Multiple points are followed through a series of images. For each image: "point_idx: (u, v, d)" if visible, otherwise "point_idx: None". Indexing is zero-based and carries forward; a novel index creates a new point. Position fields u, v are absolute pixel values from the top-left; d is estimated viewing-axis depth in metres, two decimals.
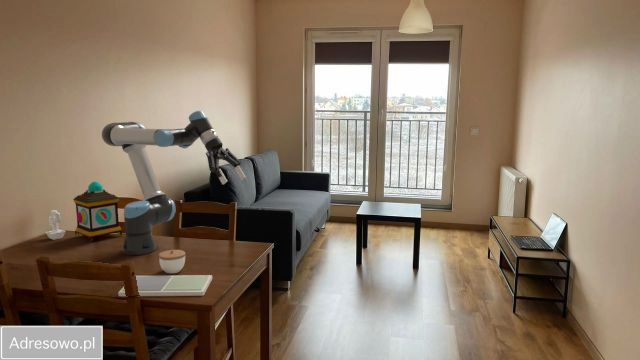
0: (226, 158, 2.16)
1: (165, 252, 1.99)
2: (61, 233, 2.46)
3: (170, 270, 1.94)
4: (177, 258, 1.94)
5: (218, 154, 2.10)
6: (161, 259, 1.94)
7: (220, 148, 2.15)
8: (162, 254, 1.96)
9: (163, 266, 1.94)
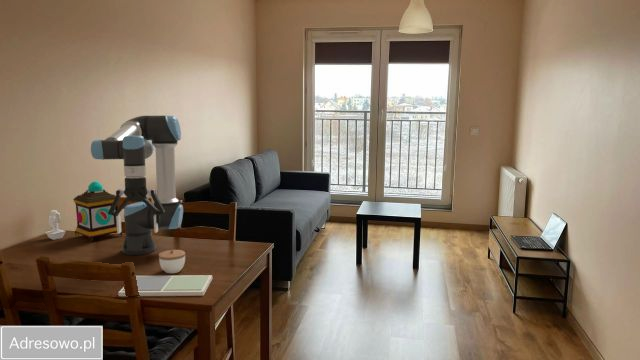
0: None
1: (165, 252, 1.99)
2: (61, 233, 2.46)
3: (170, 270, 1.94)
4: (177, 258, 1.94)
5: (127, 198, 1.75)
6: (161, 259, 1.94)
7: (139, 189, 1.76)
8: (162, 254, 1.96)
9: (163, 266, 1.94)
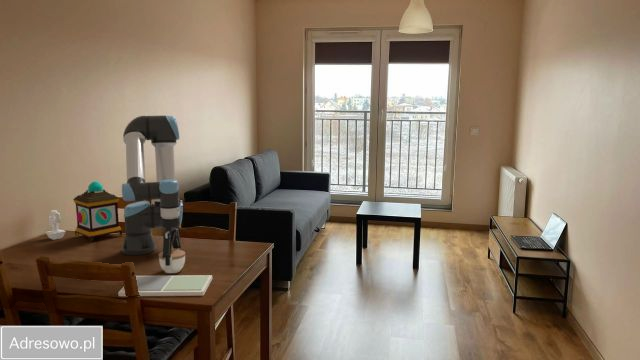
0: None
1: None
2: (61, 233, 2.46)
3: None
4: (177, 258, 1.94)
5: (173, 237, 1.94)
6: (161, 259, 1.94)
7: None
8: (162, 254, 1.96)
9: (163, 266, 1.94)
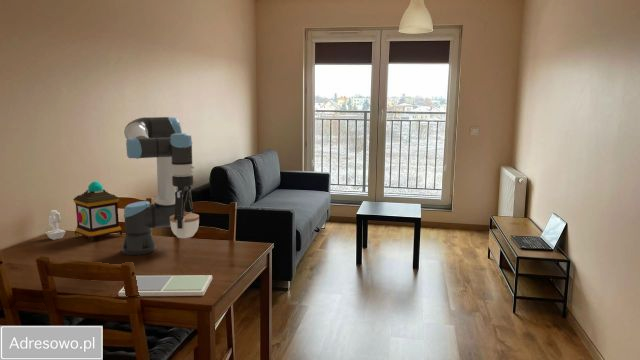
0: None
1: None
2: (61, 233, 2.46)
3: None
4: (190, 221, 1.73)
5: (186, 197, 1.74)
6: (172, 222, 1.73)
7: (187, 186, 1.77)
8: (173, 216, 1.75)
9: (174, 230, 1.73)
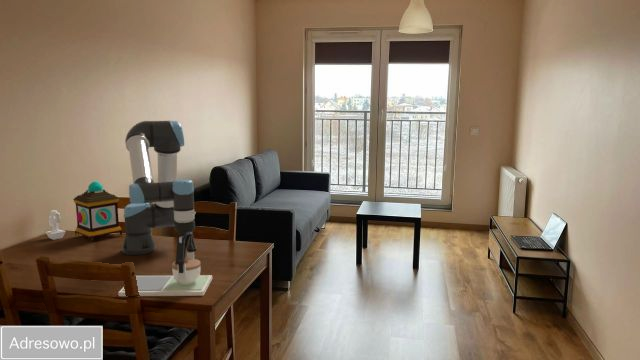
0: None
1: None
2: (61, 233, 2.46)
3: (184, 281, 1.77)
4: (192, 268, 1.76)
5: (188, 242, 1.76)
6: (174, 269, 1.76)
7: None
8: None
9: (177, 277, 1.77)
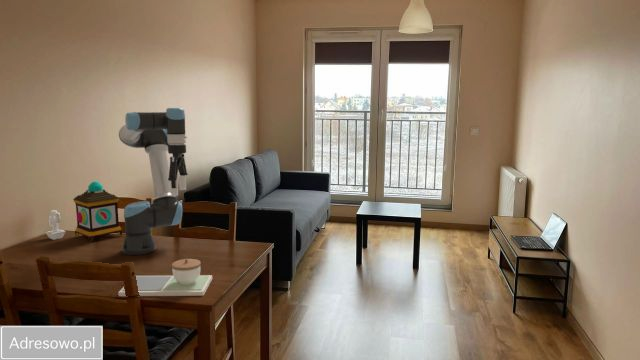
0: (179, 165, 2.06)
1: (179, 261, 1.81)
2: (61, 233, 2.46)
3: (184, 281, 1.77)
4: (192, 268, 1.76)
5: (179, 163, 2.00)
6: (174, 269, 1.76)
7: (180, 154, 2.04)
8: (175, 264, 1.78)
9: (177, 277, 1.77)
